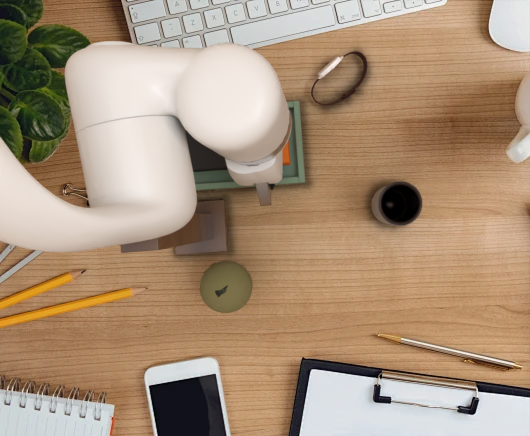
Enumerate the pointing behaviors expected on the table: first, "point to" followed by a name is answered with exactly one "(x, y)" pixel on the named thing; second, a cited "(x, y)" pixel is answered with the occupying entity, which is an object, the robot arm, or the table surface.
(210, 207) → the stand
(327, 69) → the watch
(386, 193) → the planter
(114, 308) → the table surface
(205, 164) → the pad
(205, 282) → the green pear
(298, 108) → the holder
